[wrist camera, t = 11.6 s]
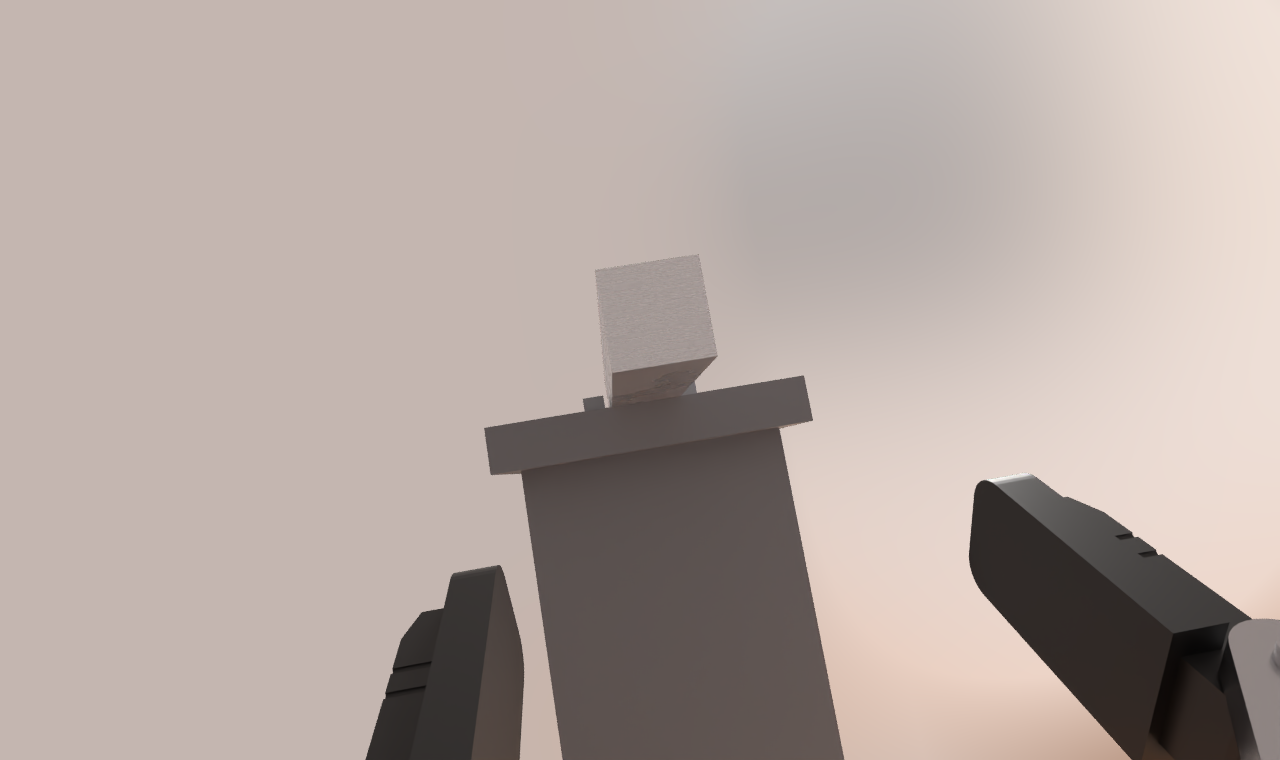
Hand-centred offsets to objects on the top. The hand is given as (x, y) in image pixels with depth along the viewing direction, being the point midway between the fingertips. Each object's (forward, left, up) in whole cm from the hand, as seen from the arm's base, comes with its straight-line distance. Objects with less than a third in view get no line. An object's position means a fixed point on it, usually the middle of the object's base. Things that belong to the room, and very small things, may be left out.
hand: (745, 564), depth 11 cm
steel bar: (+16, +11, +5) cm, 20 cm away
